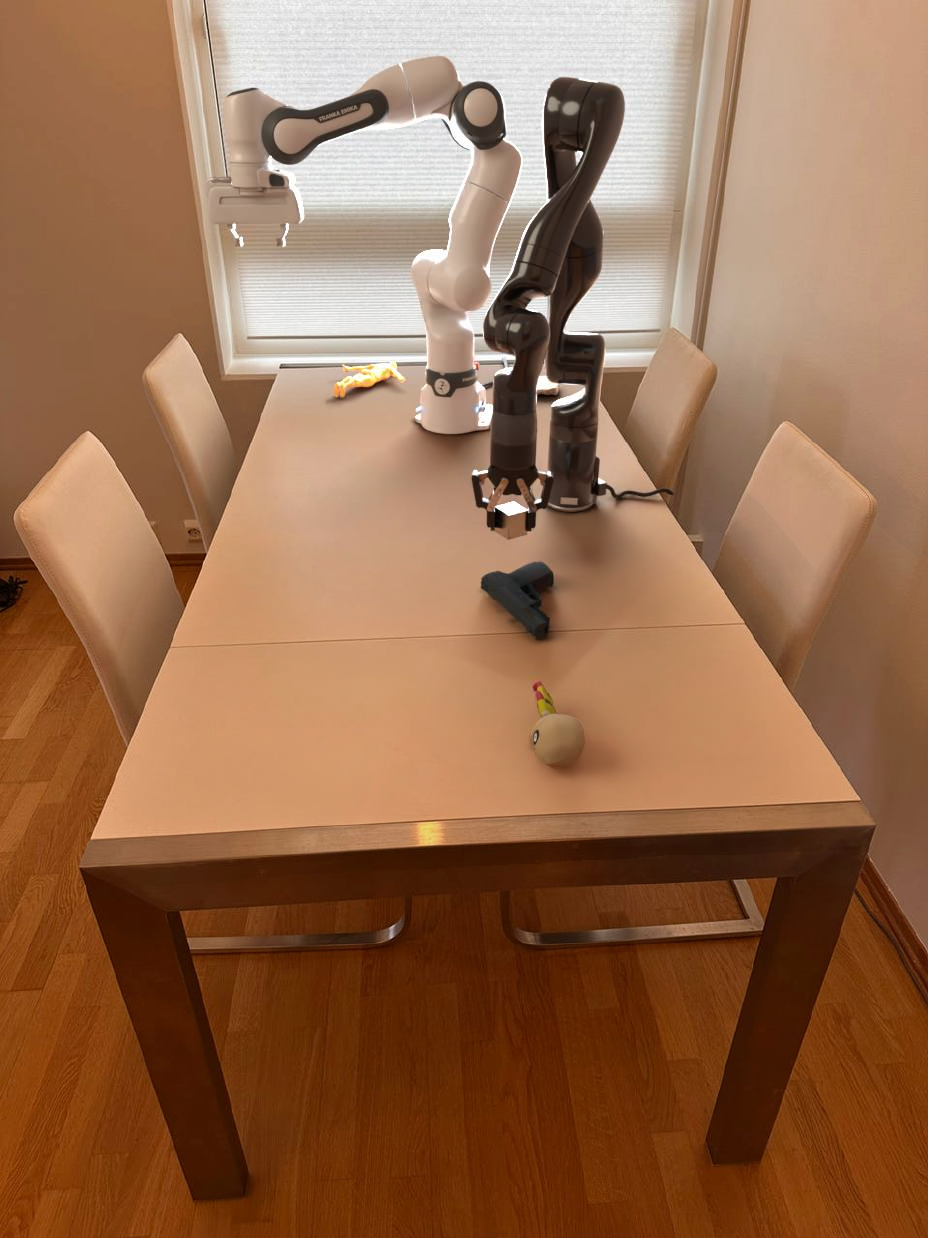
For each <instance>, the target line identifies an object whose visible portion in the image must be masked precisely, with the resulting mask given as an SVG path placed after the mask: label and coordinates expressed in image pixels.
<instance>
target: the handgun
mask: <svg viewBox="0 0 928 1238" xmlns="http://www.w3.org/2000/svg"><path fill="white" fill-rule="evenodd" d="M480 579H481V581H480V589H481V590H482V591H484V592H485V593H486V594H488V595H489V597H490V598H491V599H492V600H494V601H495V602H497V603H498V604H499V605H500V606H501V607H502V608H503V609H505V611H506V612H507V613H508V614H510V615H511V617H512V618H513V619H515V621H517V622H518V623H519V624H520V625H521V626H522V627H524V628H525V631H526V633H530V634H531V635H532V636H533V637H534V638H535V639H536V640H539V639H543V638H546V637H547V636H548V634H549V629H550V617H549V616H548V614H546V613H545V612H544V611H543V610H542V609H541V607H543V598H542V596H541V595H539V593H540V592H542V591H545V590H546V589H548V588H549V587H550V588H552V587H553V586H554V583H555V582H554V581H555V575H554V571H553V570H552V569H551V568H550V567H549V566H548V565H547V564H546V562H543V561H531V562H529V563H527V564H525V565H523V566H520V567H518V568H517V569H515V570H513V571H511V572H510V573H507V572H503V571H500V570H495V571H492V572H491V571H490V572H487V573H485V574H484V575H483V576H482V577H481V578H480Z"/></svg>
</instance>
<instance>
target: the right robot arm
mask: <svg viewBox="0 0 928 1238" xmlns="http://www.w3.org/2000/svg"><path fill="white" fill-rule="evenodd" d="M625 102H626V101H625V95H624V92H623V90H622V89H621V88H620V87H619V86H618V85H615V84H613V83H607V82H602V81H596V80H589V79H584V78H577V77H570V76H559V77H557V78H555V79H554V80H552V82H551V83H550V85H549V86H548V88H547V91H546V93H545V96H544V101H543V106H542V107H543V109H542V118H541V119H542V120H541V131H542V146H543V147H542V148H543V157H544V168H545V169H544V170H545V182H546V203H545V204H544V205H542V207H541V208H540V209H538V211H536V214H535V215H534V216H533V217H532V219H531V220H530V221H529V223H528V224H527V226H526V228H525V230H524V232H523V234H522V237H521V240H520V243H519V246H518V250H517V252H516V256H515V259H514V262H513V265H512V268H511V271H510V273H509V275H508V276H507V278H506V280H505V281H504V282H503V284H502V286H501V288H499V289H500V290H498V293H497V294H496V295H495V297H494V299H493V300H492V302H491V304H490V306H489V308H488V309H487V311H486V314H485V316H484V318H483V319H484V320H483V324H482V336H483V341H484V343H485V345H486V346H487V347H488V348H489V349H490V350H492V351H493V352H496V353H500V354H505V355H508V356H513V357H514V362H513V366H512V367H508V368H505V367H504V368H502V369H499V370H498V371H496V373H495V374H494V376H493V379H492V380H493V384H492V404H491V405H492V416H491V423H490V426H489V433H490V436H489V437H490V440H489V441H490V442H489V445H490V446H489V447H490V448H489V466H488V468H487V470H481V471H479V470H478V469H473V470H472V471H471V484H472V489H473V495H474V500H475V506H476V508H478V509H483V510H485V511H486V526H487V528H490V532H496V531H495V506H497V504H498V502H499V501H500V499H501V498H502V496H511V495H514V496H522V497H523V499H524V501H525V503H526V505H527V510H528V527H527V532H531V533H532V530H533V529H535V528H536V526H537V512H538V511H539V510H541V509H542V510H546V509H547V508H548V507H549V508H551V509H553V510H555V511H559V512H564V513H565V512H567V513H576V512H582V511H586V510H588V509H590V508H591V507H592V506H593V505H596V504H597V501H598V500H597V499H598V497H602V496H606V495H607V490H608V491H609V492H610V495H611V496H612V497H613V498H614V499H617V500H618V499H621V498H622V497H624V496H625V495H632V496H636V497H642V498H647V497H653V496H656V495H657V494H660V493H666V494H667V495H669V496H673V495H675V494H674V492H673V491H672V490H671V489H669V488H667V487H662V488H661V487H660V488H658V489H655V490H652V491H648V492H641V491H636V490H631V489H629V490H623V491H621V492H619V493H618V494H617V493H616V491H615V489H614V488H613V487H612V486H611V485H609V484H608V482H606V481H605V480H603V479H602V478H600V477H599V475H600V463H601V460H600V459H601V458H600V457H599V456H597V447H598V446H597V445H598V434H599V433H598V431H599V420H600V405H601V404H600V403H601V392H602V385H603V384H602V383H603V376H604V370H605V361H606V341H605V338H604V336H603V335H602V334H601V333H592V332H569V331H565V329H566V326H567V325H568V322H569V320H570V318H571V316H572V314H573V313H574V311H575V310H576V308H577V307H578V306H579V305H580V303H581V302H582V301H583V299H584V298H585V297H586V296H587V295H588V293H589V292H590V291H591V290H592V288H593V287H594V285H595V284H596V282H597V281H598V279H599V277H600V274H601V272H602V268H603V254H604V228H603V225H602V221H601V219H600V216H599V214H598V212H597V210H596V208H595V206H594V204H593V202H592V200H591V199H592V195H593V193H594V191H595V190H596V187H597V186H598V184H599V181H600V179H601V177H602V175H603V173H604V171H605V169H606V167H607V165H608V162H609V160H610V158H611V156H612V154H613V152H614V151H615V148H616V145H617V142H618V140H619V137H620V134H621V131H622V127H623V125H624V120H625V113H626V103H625ZM576 153H579V154H581V155H580V158H579V160H578V162H577V157H576ZM546 297H547V315H546V316H545V315H544V314H543V313H542V312H540V311H537V310H534V309H528V308H527V307H528V305H530V303H531V302H532V301H533V300H535V299H540V298H546ZM543 366H544V373H545V376H546V377H547V379H548V380H549V381H550V382H551V383H555V384H559V385H567V386H568V385H569V386H582V387H584V388H583V389H581V390H580V391H578V392H576V393H574V394H572V395H569V396H566V397H562V398H560V399H557V400H556V401H554V402H552V404H551V405H550V410H549V431H548V448H547V449H548V450H547V453H548V454H547V471H546V472H545V471H540V470H538V468H537V442H538V441H537V440H538V415H537V404H538V402H537V401H538V395H537V384H538V380H539V377H540V376H541V373H542V371H543ZM486 479H488V480H489V482H490V483H491V484H492V486H493V487H492V490H491V493H490V495H489V497H488V498H485V497H484V493H483V487H482V486H483V485H484V484H485V482H486V481H485V480H486ZM537 479H538V480H539V482H540V483H539V484H540V485H541V486H542V489H541V493H540V498H538V499H535V496H534V493H533V490H532V488H531V487H532V486H533V485H534V483H535V482H536V481H537Z"/></svg>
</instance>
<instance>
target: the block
mask: <svg viewBox="0 0 928 1238" xmlns="http://www.w3.org/2000/svg"><path fill="white" fill-rule="evenodd" d="M527 527H528V508H525V507H523V506H522V505H520V504H519V503H517V502H516V501H511V502H507V503H503V504H499V505H496V506H495V531H494V532H495V533H497V534H498V535H499V536H501V537H502V538H504V539H506V540H507V541H510V540H513V539H518V538H521V537H524V536H527V535H528V531H527Z"/></svg>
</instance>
